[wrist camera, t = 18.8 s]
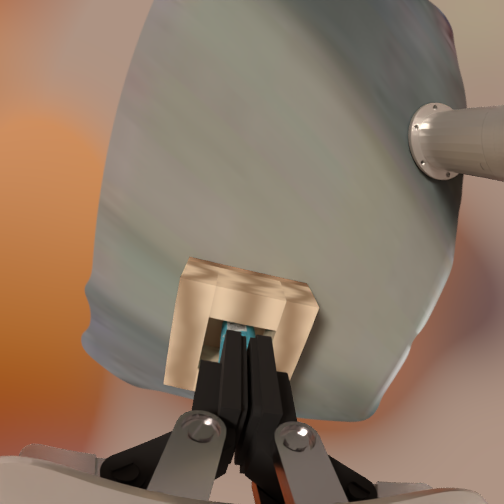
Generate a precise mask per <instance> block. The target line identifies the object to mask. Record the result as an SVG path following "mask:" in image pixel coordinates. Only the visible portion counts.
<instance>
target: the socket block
mask: <svg viewBox="0 0 504 504" xmlns="http://www.w3.org/2000/svg"><path fill="white" fill-rule="evenodd" d="M318 310H319V306H318V304H317V302H316V300H315V298H314V296H313V294H312V292H311V290H310V288H309V287H308V285H307V283H302V282H298V281H293V280H289V279H284V278H280V277H275V276H271V275H266V274H262V273H257V272H253V271H248V270H244V269H240V268H235V267H231V266H227V265H222V264H218V263H214V262H209V261H205V260H201V259H197V258H192V257H189V260H188V262H187V264H186V266H185V268H184V271H183V273H182V275H181V277H180V282H179V288H178V293H177V299H176V305H175V311H174V317H173V323H172V329H171V336H170V342H169V349H168V356H167V363H166V371H165V378H164V384H165V385H169V386H174V387H178V388H182V389H187V390H191V391H195V389H196V383H197V378H198V372H199V367H200V361H201V360H207V361H212V362H218V361H219V351H220V340H221V330H222V323H223V321H224V320H225V321H229V322H234V323H239V324H244V325H249V326H254V330H255V336H256V335H257V334H258V335H264V336H271V337H272V343H273V350H274V357H275V364H276V370H277V371H279V372H287V373H288V376H289V381H290V379H291V376H292V374H293V372H294V369H295V367H296V365H297V362H298V360H299V357H300V355H301V353H302V350H303V348H304V345H305V343H306V340H307V338H308V335H309V333H310V330H311V328H312V325H313V323H314V320H315V318H316V315H317V312H318Z"/></svg>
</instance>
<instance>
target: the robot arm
mask: <svg viewBox="0 0 504 504" xmlns="http://www.w3.org/2000/svg"><path fill="white" fill-rule="evenodd" d="M408 140H409V147H410V151H411V154H412V157H413V159H414V161H415V162H416V164H417V166H418V167H419V168H420V169H421V170H422V171H423V172H424V173H425V174H426V175H428V176H429V177H431V178H434V179H438V180H448V179H452V178H454V177H455V176H457V175H458V174H459V173H460V174H466V175H472V176H477V177H483V178H488V179H493V180H498V181H502V182H504V105H501V106H488V107H477V108H467V109H458V110H453V109H451V108H450V107H449V106H446V105H444V104H441V103H430V104H426V105H424V106H422V107H420V108H419V109H418V110H417V111H416V112H415V114H414V115H413V117H412V119H411V122H410V126H409V132H408ZM234 452H235V458H234V463H235V465H240V473H243V474H245V476H247V477H248V478H249V479H250V480H251V481H252V491H253V496H254V500H255V504H488V503H487V502H486V500H485V499H484V498H483V497H482V496H481V495H480V494H478V493H477V492H475V491H471V490H467V489H460V488H436V489H433V488H432V487H431V486H429V485H427V484H423V483H396V482H379V481H378V482H377V483H376V484H372V482H370V481H369V480H368V479H366V478H365V477H363V476H361V475H360V474H358V473H356V472H355V471H353V470H351V469H350V468H348V467H347V466H345V465H343V464H342V463H340V462H339V461H337V460H335V459H334V458H332V457H331V456H329V455H328V454H327V452H326V450H325V448H324V445H323V443H322V441H321V438H320V436H319V435H318V433H317V431H316V430H314V429H313V428H312V427H311V426H309V425H307V424H305V423H301V422H297V418H296V413H295V407H294V402H293V397H292V391H291V386H290V381H289V376H288V373H287V372H279V371H277V370H276V364H275V357H274V350H273V343H272V337H271V336H264V335H258V334H257V335H256V337H255V338H253V337H250V340H249V343H248V347H247V341H246V336H241V332H240V331H234V330H228V329H227V330H226V334H225V339H224V344H223V348H222V353H221V358H220V363H218V362H212V361H207V360H201V361H200V367H199V372H198V378H197V383H196V389H195V395H194V400H193V406H192V411H189V412H186V413H184V414H183V415H181V416H180V417H179V419H178V420H177V422H176V424H175V427H174V429H173V431H171V432H169V433H166V434H164V435H162V436H160V437H158V438H155V439H152V440H150V441H148V442H145V443H143V444H141V445H138V446H136V447H133V448H130V449H128V450H125V451H122V452H120V453H117V454H115V455H112V456H110V457H109V458H106V459H103V458H97V457H96V455H94V454H88V453H82V452H76V451H70V450H64V449H59V448H54V447H50V446H45V445H41V444H31V445H28V446H26V447H25V448H23V449H22V450H21V452H20V454H19V456H0V504H231V503H220V502H212V501H209V497H210V494H211V490H212V486H213V483H214V480H215V479H217V478H218V477H220V476H222V475H223V474H225V473H226V470H227V467H228V464H230V463H231V460H232V457H233V455H234Z"/></svg>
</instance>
